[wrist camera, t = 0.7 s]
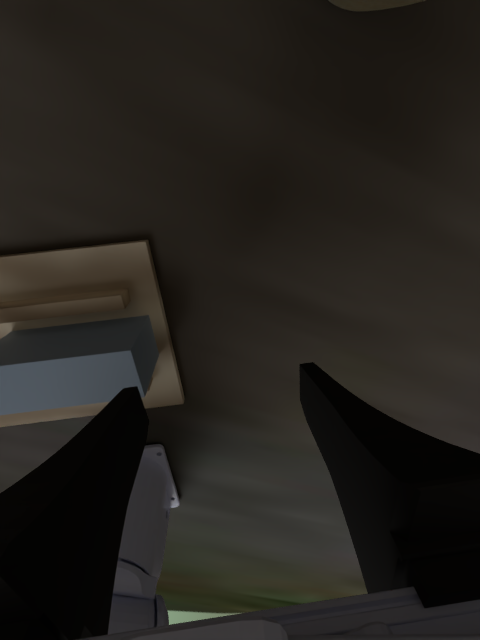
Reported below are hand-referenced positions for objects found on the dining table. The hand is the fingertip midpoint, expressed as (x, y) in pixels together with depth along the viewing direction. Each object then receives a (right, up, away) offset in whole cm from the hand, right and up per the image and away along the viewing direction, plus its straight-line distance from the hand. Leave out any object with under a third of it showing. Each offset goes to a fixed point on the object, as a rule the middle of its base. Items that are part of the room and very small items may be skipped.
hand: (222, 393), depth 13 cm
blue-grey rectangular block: (-11, +1, +9) cm, 14 cm away
